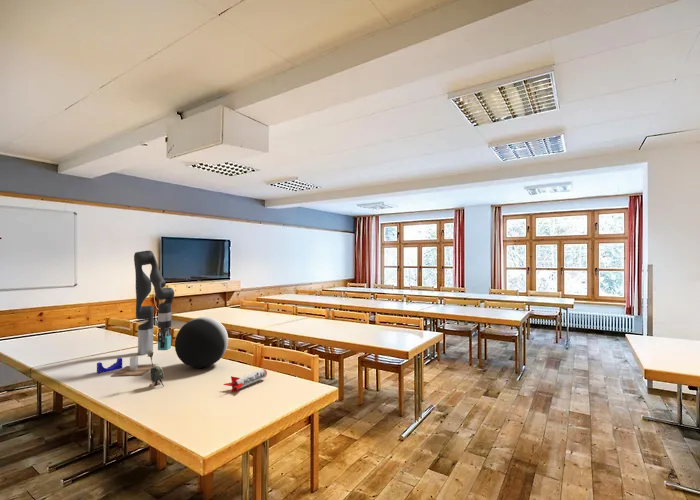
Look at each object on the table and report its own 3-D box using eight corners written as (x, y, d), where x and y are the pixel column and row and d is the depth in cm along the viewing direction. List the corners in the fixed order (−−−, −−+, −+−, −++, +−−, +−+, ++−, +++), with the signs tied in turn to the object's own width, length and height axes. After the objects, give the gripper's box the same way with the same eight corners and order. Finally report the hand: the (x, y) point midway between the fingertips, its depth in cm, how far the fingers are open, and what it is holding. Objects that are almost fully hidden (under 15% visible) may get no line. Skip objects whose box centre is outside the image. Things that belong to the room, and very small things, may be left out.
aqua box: (161, 347, 220) (161, 335, 220) (170, 347, 220) (171, 335, 220) (157, 350, 214) (157, 338, 214) (167, 350, 215) (167, 337, 215)
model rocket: (272, 383, 185) (273, 364, 185) (238, 399, 165) (238, 378, 165) (258, 379, 190) (258, 361, 190) (223, 394, 170) (223, 374, 170)
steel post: (132, 369, 201) (132, 356, 201) (137, 369, 202) (138, 356, 202) (129, 371, 198) (129, 358, 198) (135, 370, 199) (135, 357, 199)
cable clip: (118, 367, 209) (118, 357, 209) (122, 368, 207) (122, 358, 207) (95, 372, 199) (95, 362, 199) (98, 374, 197) (99, 363, 197)
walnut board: (126, 368, 207) (126, 366, 207) (154, 367, 209) (154, 365, 209) (111, 377, 191) (111, 375, 191) (141, 376, 193) (141, 374, 193)
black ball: (236, 359, 224) (236, 313, 224) (213, 376, 194) (213, 323, 194) (192, 358, 227) (192, 312, 227) (163, 374, 197) (163, 321, 197)
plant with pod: (152, 393, 170) (152, 353, 170) (143, 387, 177) (143, 349, 177) (169, 388, 176) (169, 349, 176) (159, 383, 184) (160, 345, 184)
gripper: (163, 317, 224) (163, 343, 224) (153, 322, 210) (152, 350, 210) (175, 317, 225) (175, 343, 225) (166, 322, 210) (165, 349, 211)
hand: (164, 346), depth 217 cm, fingers closed on aqua box, 5 cm apart
